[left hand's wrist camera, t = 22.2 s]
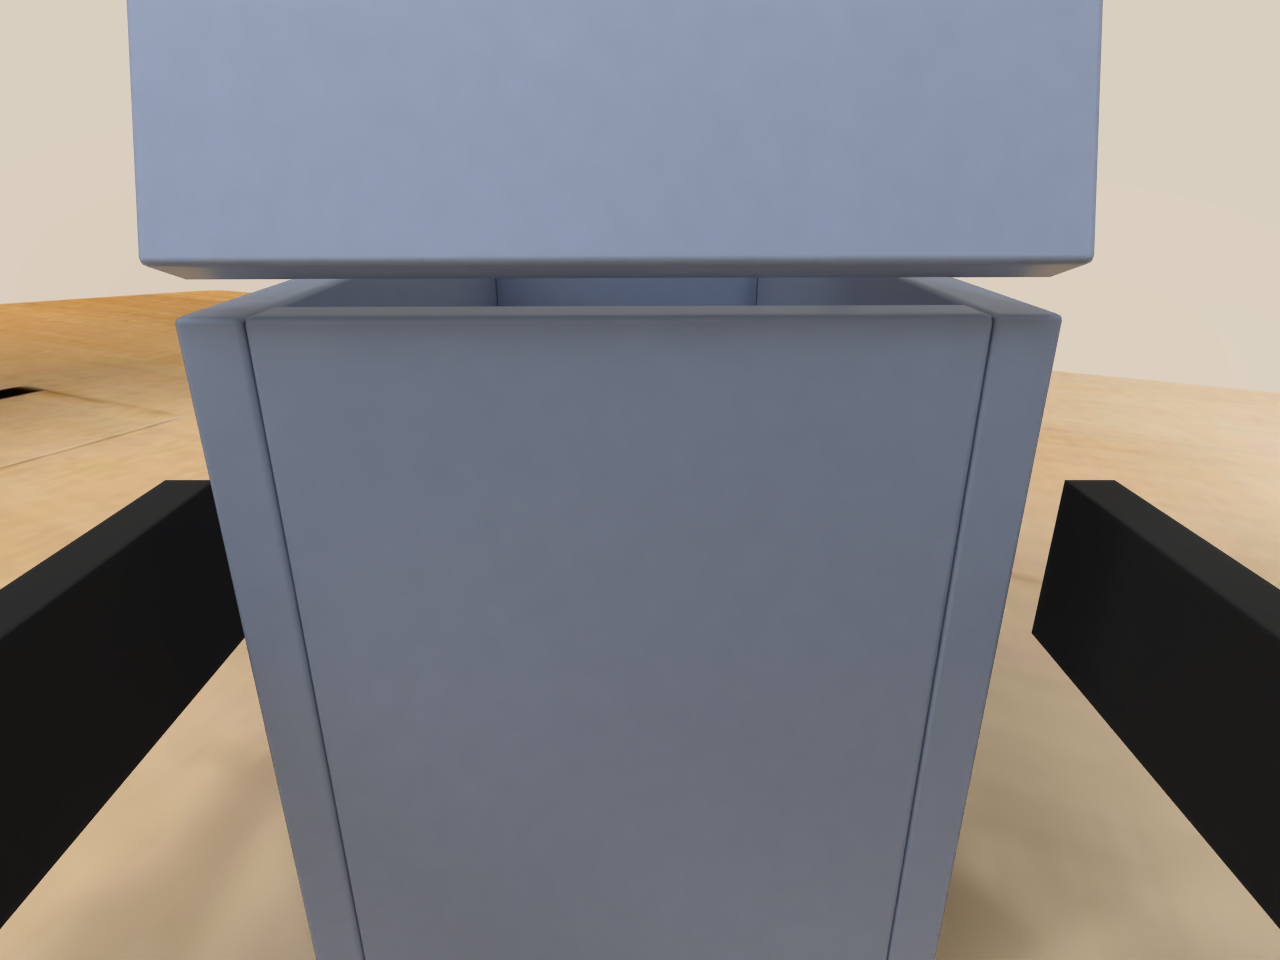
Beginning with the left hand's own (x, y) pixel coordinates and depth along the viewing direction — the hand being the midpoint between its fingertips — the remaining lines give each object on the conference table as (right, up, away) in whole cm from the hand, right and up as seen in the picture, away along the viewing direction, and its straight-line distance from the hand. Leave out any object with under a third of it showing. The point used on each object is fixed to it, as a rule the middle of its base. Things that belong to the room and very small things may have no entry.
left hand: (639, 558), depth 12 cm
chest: (0, -4, +8) cm, 9 cm away
